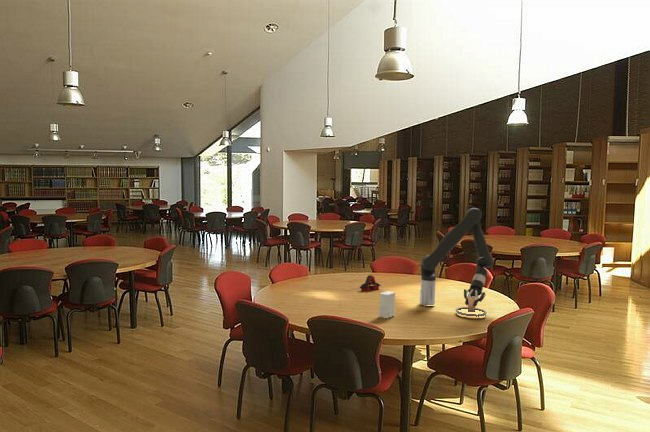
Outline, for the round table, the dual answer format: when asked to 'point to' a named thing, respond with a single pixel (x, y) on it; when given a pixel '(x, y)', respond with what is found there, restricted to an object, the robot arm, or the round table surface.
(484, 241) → the robot arm
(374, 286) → the logo sign
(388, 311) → the skincare box
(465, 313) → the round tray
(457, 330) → the round table surface
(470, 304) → the clay spool
